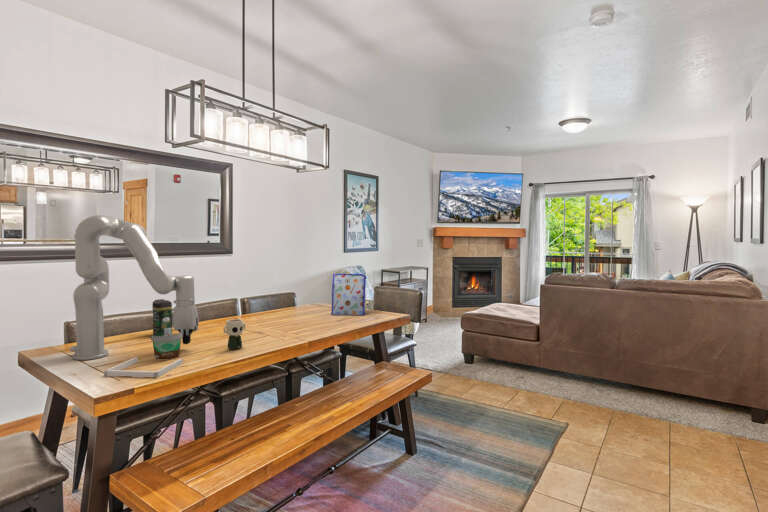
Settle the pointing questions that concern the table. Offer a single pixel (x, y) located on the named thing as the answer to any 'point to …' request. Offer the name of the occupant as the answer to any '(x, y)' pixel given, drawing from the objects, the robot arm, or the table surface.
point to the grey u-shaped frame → (118, 372)
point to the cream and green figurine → (234, 332)
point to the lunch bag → (348, 294)
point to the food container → (167, 346)
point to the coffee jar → (162, 317)
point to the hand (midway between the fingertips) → (186, 343)
